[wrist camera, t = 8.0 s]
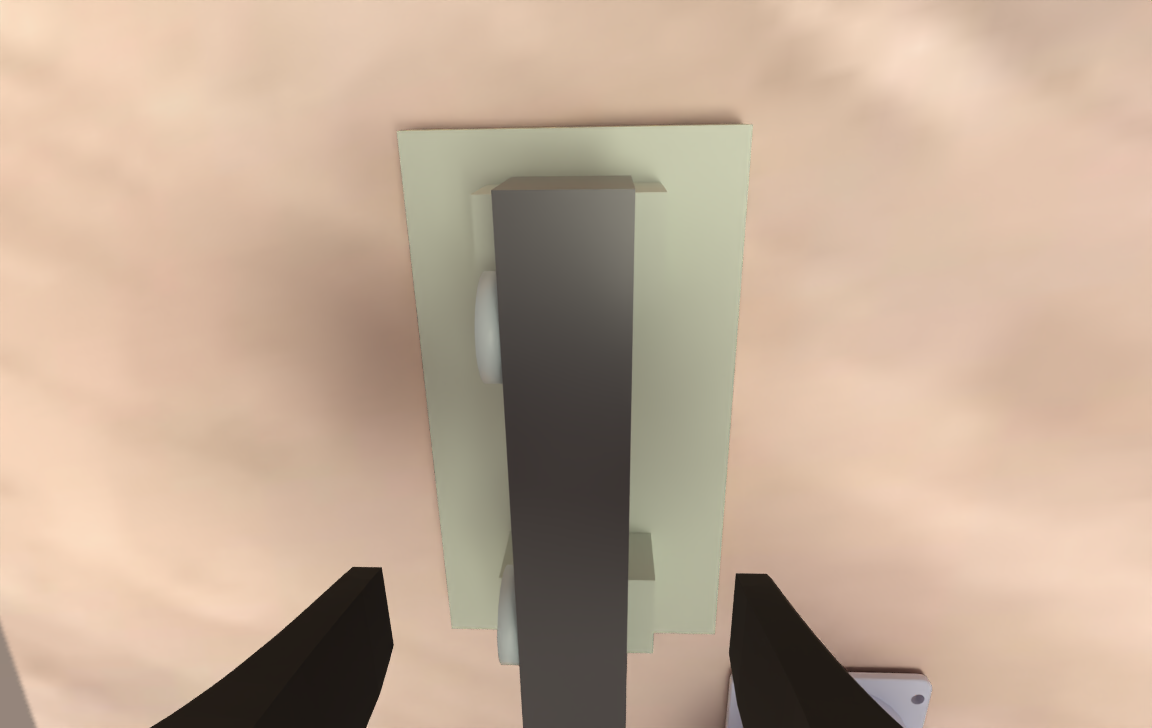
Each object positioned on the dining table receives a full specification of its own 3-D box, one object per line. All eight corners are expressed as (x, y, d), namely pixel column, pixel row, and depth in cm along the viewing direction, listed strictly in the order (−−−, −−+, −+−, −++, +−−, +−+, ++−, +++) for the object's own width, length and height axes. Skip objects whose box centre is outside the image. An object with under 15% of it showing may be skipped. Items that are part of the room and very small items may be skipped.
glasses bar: (623, 666, 22) (625, 746, 19) (517, 663, 22) (504, 742, 19) (630, 175, 16) (635, 189, 13) (487, 177, 16) (462, 190, 14)
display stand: (709, 605, 26) (725, 689, 22) (460, 601, 26) (435, 681, 23) (742, 123, 19) (774, 126, 16) (411, 129, 20) (365, 133, 16)
